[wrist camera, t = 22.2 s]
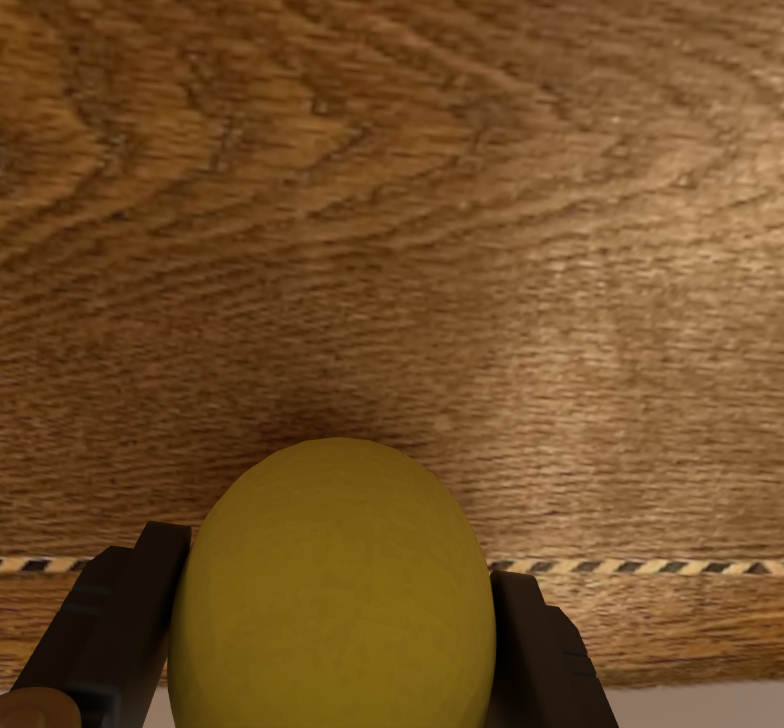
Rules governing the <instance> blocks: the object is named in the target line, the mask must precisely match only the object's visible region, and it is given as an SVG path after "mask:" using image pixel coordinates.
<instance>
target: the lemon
mask: <svg viewBox="0 0 784 728" xmlns="http://www.w3.org/2000/svg"><path fill="white" fill-rule="evenodd" d="M496 645H497V641H496V620H495V610H494V603H493V596H492V589H491V583H490V577H489V572H488V567H487V563H486V560H485V556H484V553H483V550H482V548H481V546H480V544H479V542H478V539H477V537H476V535H475V533H474V531H473V529H472V527H471V525H470V523H469V521H468V519H467V517H466V515H465V513H464V511H463V509H462V508H461V506H460V505H459V503H458V501H457V500H456V499H455V498H454V497H453V495H452V494H451V493H450V492H449V491H448V490H447V489H446V488H445V487H444V485H443V484H442V483H441V482H440V481H439V480H438V479H437V478H436V477H435V476H434V475H433V473H432V472H431V471H430V470H428V469H427V468H425V467H424V466H423V465H421V464H419V463H418V462H416V461H415V460H413V459H412V458H410V457H409V456H407V455H405V454H404V453H402V452H401V451H399V450H397V449H394V448H391V447H388V446H385V445H382V444H379V443H376V442H373V441H370V440H363V439H353V438H343V437H333V438H324V439H316V440H307V441H304V442H301V443H298V444H295V445H293V446H290V447H287V448H285V449H282V450H279V451H276V452H275V453H273V454H271V455H270V456H268V457H267V458H265V459H264V460H262V461H261V462H259V463H258V464H256V465H255V466H253V467H252V468H250V469H249V470H248V471H246V472H245V473H243V474H242V475H241V476H240V477H239V478H238V479H237V480H236V481H235V482H234V483H233V485H232V486H231V487H230V488H229V489H228V490H227V491H226V493H225V494H224V495H223V496H222V497H221V498H220V499H219V501H218V502H217V503H216V504H215V505H214V507H213V508H212V509H211V510H210V512H209V513H208V514H207V516H206V518H205V520H204V521H203V523H202V525H201V527H200V529H199V531H198V533H197V535H196V538H195V540H194V542H193V544H192V547H191V549H190V551H189V553H188V556H187V558H186V560H185V563H184V565H183V567H182V570H181V573H180V576H179V579H178V582H177V585H176V590H175V595H174V600H173V608H172V617H171V626H170V636H169V646H168V663H167V678H168V693H169V698H170V703H171V710H172V714H173V718H174V723H175V727H176V728H483V727H484V723H485V719H486V716H487V712H488V707H489V701H490V696H491V690H492V684H493V678H494V670H495V663H496Z"/></svg>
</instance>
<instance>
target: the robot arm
mask: <svg viewBox="0 0 784 728" xmlns="http://www.w3.org/2000/svg"><path fill="white" fill-rule="evenodd" d="M191 532H192V530H191V526H184V525H177V524H170V523H163V522H156V521H149V522H148V523H147V524H146V526H145V528H144V530H143V532H142V533H141V535H140V537H139V539H138V541H137V543H136V545H135V547H134V549H133V548H125V547H118V546H110V547H108V548H107V549H106V550H104V551H103V552H102V553H100V554H99V555H98V556H96V557H95V558H94V559H92V560H91V561H90V562H88V563H87V564H86V566H85V567H84V569H83V571H82V572H81V574H80V576H79V577H78V579H77V581H76V582H75V584H74V586H73V589H72V591H70V592H69V594H68V596H67V597H66V599H65V601H64V602H63V604H62V606H61V609H60V611H58V612H57V614H56V616H55V617H54V619H53V621H52V622H51V624H50V626H49V627H48V629H47V630H46V632H45V634H44V635H43V637H42V639H41V640H40V642H39V644H38V645H37V647H36V649H35V650H34V652H33V654H32V655H31V657H30V659H29V660H28V662H27V664H26V665H25V667H24V669H23V670H22V672H21V674H20V675H19V677H18V679H17V680H16V682H15V684H14V685H13V687H12V688H11V690H10V691H9V692H7V693H5V694H2V695H0V728H142V727H143V724H144V721H145V718H146V715H147V713H148V710H149V707H150V704H151V701H152V698H153V695H154V693H155V690H156V687H157V684H158V681H159V678H160V676H161V673H162V670H163V667H164V664H165V661H166V658H167V656H168V646H169V636H170V626H171V617H172V608H173V600H174V595H175V590H176V585H177V582H178V579H179V576H180V573H181V570H182V567H183V565H184V563H185V560H186V558H187V556H188V553H189V551H190V543H191ZM489 577H490V583H491V589H492V596H493V603H494V610H495V620H496V641H497V645H496V663H495V670H494V678H493V684H492V690H491V696H490V701H489V707H488V712H487V716H486V719H485V723H484V727H483V728H619V726H618V724H617V721H616V719H615V717H614V714H613V712H612V710H611V707H610V705H609V702H608V700H607V698H606V695H605V693H604V690H603V688H602V686H601V683H600V681H599V679H598V678H596V671H595V669H594V667H593V664H592V662H591V659H590V658H588V656H587V654H588V652H587V650H586V648H585V645H584V643H583V640H582V638H581V636H580V633H579V631H578V629H577V628H576V626H575V625H574V624H573V623H572V622H571V621H570V619H569V618H568V617H567V616H566V615H565V614H564V613H563V611H562V610H561V609H560V608H559V607H556V606H549V605H545V602H544V599H543V597H542V594H541V591H540V589H539V586H538V583H537V581H536V579H535V577H534V576H533V575H528V574H521V573H514V572H507V571H499V570H494V571H492V573H491V574H490V576H489Z"/></svg>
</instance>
